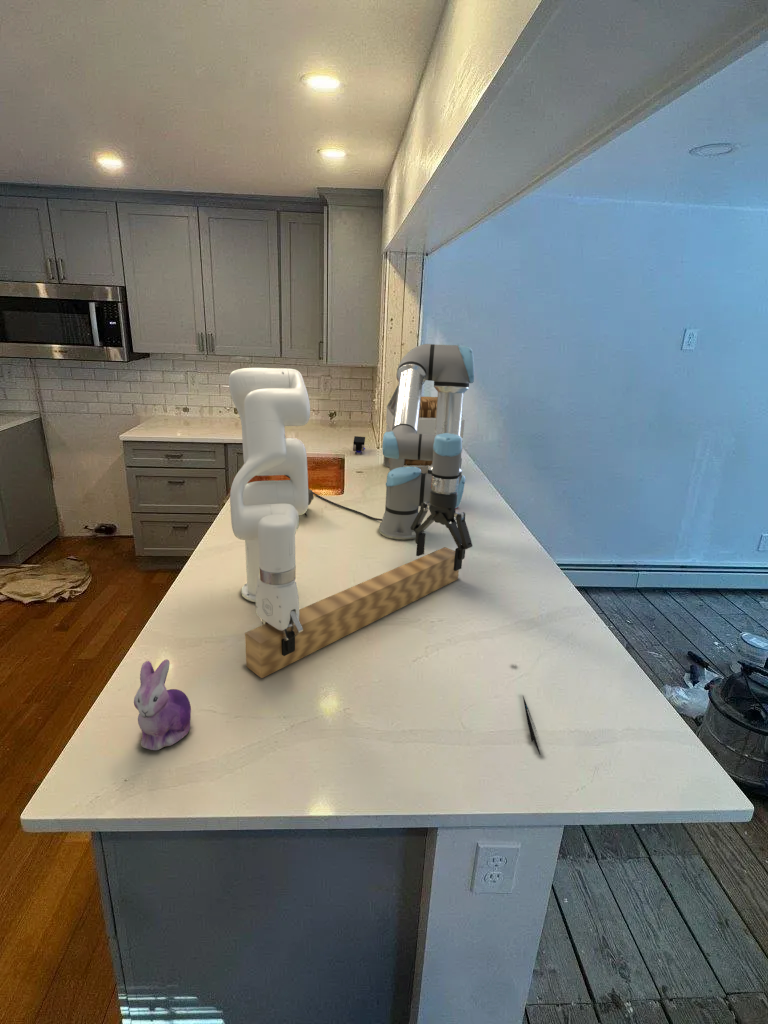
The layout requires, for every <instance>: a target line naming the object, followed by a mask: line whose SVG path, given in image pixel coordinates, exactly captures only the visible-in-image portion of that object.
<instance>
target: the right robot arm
mask: <svg viewBox="0 0 768 1024" xmlns="http://www.w3.org/2000/svg"><path fill="white" fill-rule="evenodd" d="M474 360H475V359H474V351H473V349H472V347H470V346H466V345H459V344H436V343H435V344H434V343H433V344H432V343H423V344H419V345H417V346H415V347H413V348H412V349H410V351H408V352H407V353H405V355H404V356H403V357H402V358H401V360H400V361H399V364H398V366H397V369H396V380H397V383H398V385H397V386H398V391H397V398H396V405H395V412H394V419H393V426H392V431H390V432H386V431H385V432H384V433H383V436H382V447H381V448H382V450H381V452H382V456H383V457H384V456H385V457H388V458H394V459H412V460H425V461H433V463H432V465H430V466H429V465H428V466H427V472H422V469H421V468H420V467H419V466H418V467H417V466H404V467H399V468H395V469H393V470H391V471H390V470H389V471H388V473H387V475H386V482H385V487H386V488H385V489H386V490H385V504H384V505H385V507H384V508H385V509H384V513H383V515H382V518H377V517H373V516H370V515H368V514H366V513H363V512H361V511H358V510H356V509H353V508H349V507H346V506H344V505H341V504H339V503H336V502H333V501H332V500H329V499H327V498H325V497H322V496H321V495H320V494H318V493H315V492H314V491H312V492H313V496H316V497H317V498H319V499H322V500H323V501H325V502H327V503H330V504H332V505H334V506H337V507H338V508H341V509H345V510H348V511H351V512H353V513H356V514H359V515H362V516H364V517H366V518H368V519H371V520H374V521H379V526H378V533H379V534H380V535H381V536H382V537H385V538H387V539H389V540H395V541H410V540H415V542H414V543H415V544H416V554H415V556H416V557H420V556H424V554H425V545H426V533H425V531H426V530H427V528H429V527H430V526H431V525H432V524H433V523H434V522H435V523H436V524H438V523H439V524H441V525H443V526H445V528H446V529H448V531H449V533H450V536H451V537H452V538H453V541H454V543H455V544H456V546H457V547H455V550H454V551H455V559H454V571H457V570H461V569H462V568H463V567H462V566H463V560H465V558H466V550H468V549H471V548H473V542H472V538H471V535H470V532H469V529H468V525H467V522H466V513H465V512H464V511H463V512H457V511H456V509H458V508H459V507H460V505H461V502H462V499H463V494H464V490H465V484H466V476H465V475H463V474H462V472H463V470H462V468H461V469H460V462H461V458H462V453H461V451H462V452H463V443H462V441H463V438H461V437H460V432H461V420H462V419H463V408H464V394H465V393H466V392H467V391H468V390H469V389H470V384H473V383H475V361H474ZM427 381H428V382H429V381H430V382H431V381H432V382H433V388H434V389H435V391H436V392H437V396H436V397H437V410H436V424H435V435H431V434H417V430H418V420H419V411H420V401H421V397H422V391H423V386H424V384H425V383H426V382H427ZM461 463H462V462H461ZM284 476H285V477H287V478H288V479H290V477H289V476H288V475H284ZM457 507H458V508H457ZM428 512H429V513H430V514H429V516H427V514H428ZM426 516H427V518H426V519H425V517H426ZM424 519H425V520H424Z"/></svg>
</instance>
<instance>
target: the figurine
mask: <svg viewBox="0 0 768 1024" xmlns="http://www.w3.org/2000/svg"><path fill="white" fill-rule="evenodd" d="M170 665H171V664H170V659H168V658H166V659H164V660H162V661H161V663H159V664H158V666H157V668H156V669H154V667H153V664H152V662H151V661H150V660H146V661H144V662H143V663H142V665H141V668H140V673H139V682H140V685H139V688H138V689H137V691H136V694H135V696H134V698H133V705H134V707H135V709H136V710H137V711H138V716H137V724H138V727H139V729H140V730H141V733H142V736H141V742H140V745H141V747H142V748H143V749H147V750H150V751H159V750H160V749H163V748H164V747H165V748H166V747H170V746H173V745H174V744H177V743H178V742H179V741H181V740H182V739H183V738H184V737H185V736H186V735H188V734H189V732H190V729H191V718H192V716H191V715H192V707H191V702H190V700H189V698H188V695H187V694H186V693H185V692H184V691H182V690H180V689H176V688H171V689H167V688H166V685H165V684H166V680H167V677H168V674H169V670H170Z"/></svg>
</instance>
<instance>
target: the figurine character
mask: <svg viewBox="0 0 768 1024" xmlns="http://www.w3.org/2000/svg"><path fill="white" fill-rule="evenodd" d="M365 442H366V436H358V435H354V436H353V444H352V451H353V452H355V454H354V455H357V453H358V454H360V455H362V454H363V452H365V450H366V447H365Z"/></svg>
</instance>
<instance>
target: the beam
mask: <svg viewBox="0 0 768 1024" xmlns="http://www.w3.org/2000/svg"><path fill="white" fill-rule="evenodd" d="M454 559H455V550H454V549H451V548H448V547H446V546H444V547H442V548H439V549H437V550H435V551H433V552H430V553H427V554H426V555H422V556H421V557H418V558H415V559H414V560H410V561H409V562H407V563H405V564H402V565H400V566H398V567H395V568H393V569H390V570H388V571H386V572H383V573H381V574H379V575H376V576H374V577H372V578H370V579H367V580H365V581H362V582H360V583H358V584H355V585H353V586H351V587H348V588H345V589H344V590H341V591H339V592H337V593H334V594H332V595H330V596H327V597H325V598H323V599H321V600H317V601H315V602H314V603H310V604H309V605H306V606H304V607H302V608H299V622H300V624H301V626H302V628H303V631H302V632H301V633H299V634H298V635H297V636H296V637H295V651H294V652H292V653H290V654H288V655H286V656H283V655H282V642H281V641H282V639H283V635H282V631H281V630H278V629H276V628H275V627H273V626H272V625H270V624H268V623H267V624H264V625H262V624H261V625H259V626H257V627H254V628H253V629H250V630H248V631H246V632H244V643H245V644H244V645H245V665H246V666H245V667H246V668H247V669H249V670H250V671H252V672H253V673H254V674H255V675H256V676H258V677H260V679H264V678H266V677H268V676H270V675H271V674H273V673H275V672H278V671H279V670H281V669H283V668H285V667H287V666H290V665H291V664H293V663H295V662H297V661H299V660H301V659H303V658H305V657H307V656H309V655H311V654H313V653H315V652H317V651H318V650H321V649H323V648H325V647H326V646H329V645H331V644H333V643H335V642H337V641H339V640H341V639H343V638H344V637H347V636H349V635H350V634H352V633H354V632H356V631H358V630H360V629H363V628H364V627H366V626H368V625H370V624H372V623H374V622H377V621H379V620H380V619H382V618H385V617H386V616H388V615H390V614H392V613H395V612H396V611H399V610H400V609H402V608H404V607H406V606H408V605H410V604H412V603H414V602H416V601H418V600H420V599H423V598H424V597H426V596H427V595H429V594H432V593H434V592H436V591H437V590H439V589H442V588H444V587H445V586H447V585H449V584H451V583H453V582H455V581H458V580H459V572H460V571H459V570H460V569H459V570H457V571H454ZM286 630H287V634H288V633H289V632H290V631H291V630H290V627H289V628H287V629H286Z"/></svg>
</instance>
